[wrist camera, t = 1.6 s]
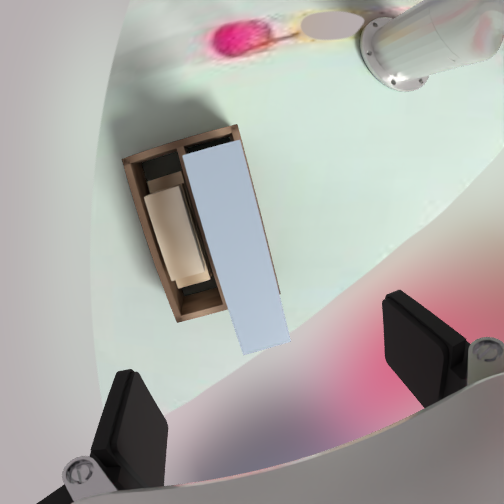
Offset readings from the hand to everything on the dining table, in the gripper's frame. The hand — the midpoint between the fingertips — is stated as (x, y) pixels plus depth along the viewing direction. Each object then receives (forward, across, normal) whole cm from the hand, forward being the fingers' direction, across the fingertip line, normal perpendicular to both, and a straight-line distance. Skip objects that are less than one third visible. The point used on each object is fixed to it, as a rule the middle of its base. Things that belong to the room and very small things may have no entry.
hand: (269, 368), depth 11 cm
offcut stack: (+33, +6, 0) cm, 33 cm away
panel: (+33, -1, 0) cm, 33 cm away
